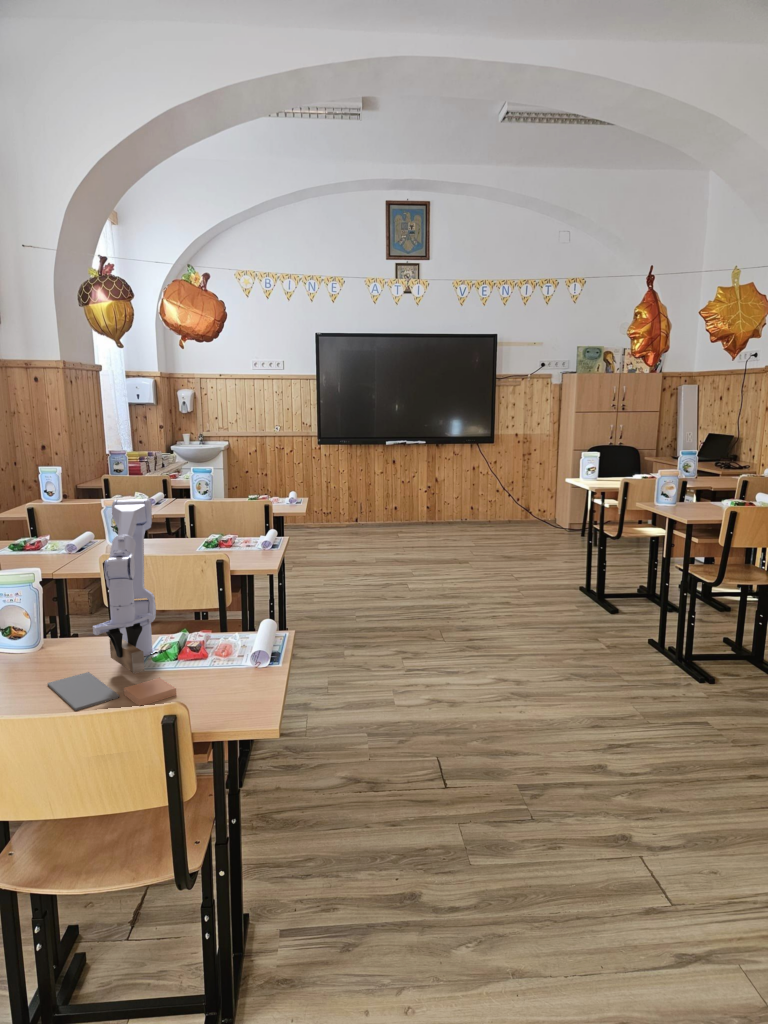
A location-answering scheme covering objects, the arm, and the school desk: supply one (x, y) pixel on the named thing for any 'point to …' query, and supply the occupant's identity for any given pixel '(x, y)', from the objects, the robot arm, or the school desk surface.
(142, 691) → the tile
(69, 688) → the mat
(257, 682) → the school desk surface
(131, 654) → the brown block
